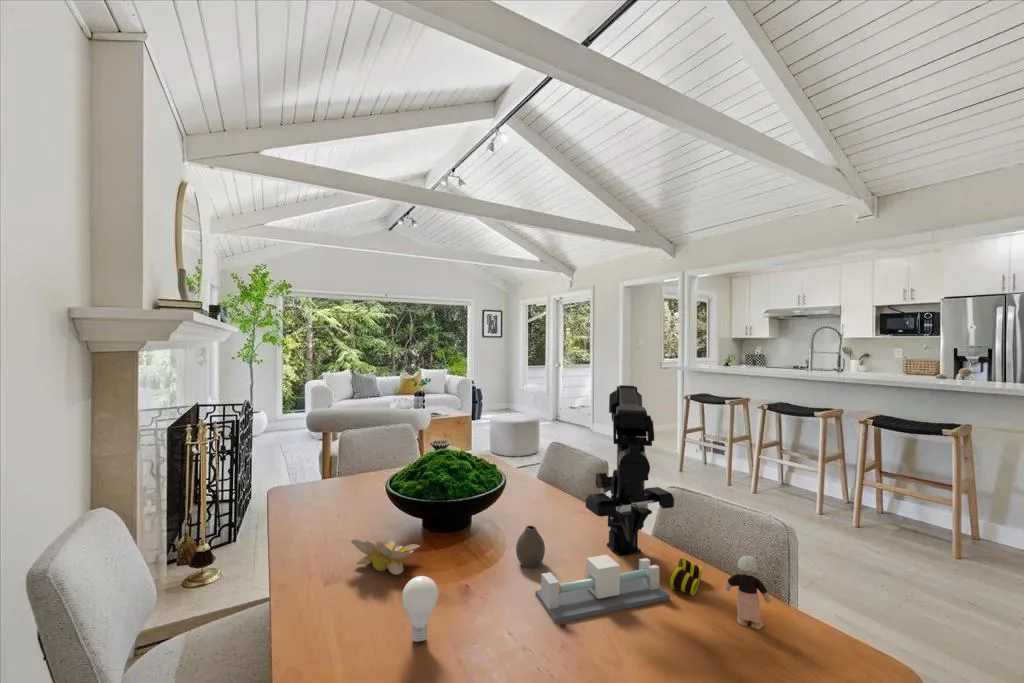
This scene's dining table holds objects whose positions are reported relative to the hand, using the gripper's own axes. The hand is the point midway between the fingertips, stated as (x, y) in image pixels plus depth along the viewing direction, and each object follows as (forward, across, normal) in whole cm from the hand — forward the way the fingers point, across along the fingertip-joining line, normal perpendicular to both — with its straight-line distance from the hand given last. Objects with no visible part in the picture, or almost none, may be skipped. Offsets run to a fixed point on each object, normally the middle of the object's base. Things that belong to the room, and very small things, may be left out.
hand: (629, 541), depth 97 cm
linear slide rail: (+11, +7, 0) cm, 13 cm away
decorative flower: (+11, +48, -26) cm, 56 cm away
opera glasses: (+11, -14, +2) cm, 18 cm away
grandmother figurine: (+11, -15, +16) cm, 25 cm away
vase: (+11, +16, -18) cm, 26 cm away
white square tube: (+9, +7, 0) cm, 11 cm away
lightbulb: (+11, +45, +2) cm, 46 cm away
